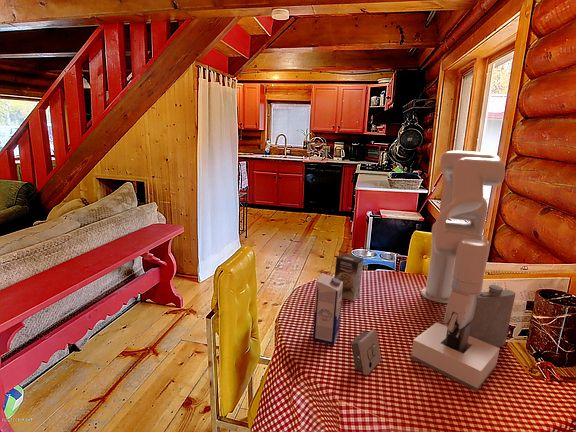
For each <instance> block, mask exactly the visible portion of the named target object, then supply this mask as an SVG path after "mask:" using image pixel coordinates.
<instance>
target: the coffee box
mask: <svg viewBox="0 0 576 432" xmlns="http://www.w3.org/2000/svg"><path fill="white" fill-rule="evenodd" d="M363 264H364V258H363V257H359V256H355V255H351V254H347V253H341V254H339V255H338V256H336V259H335V267H334V268H335V270H334V271H335V272H334V278H336V279H338V280H340V281H342V282H343V288H342V299H345V300H348V301H352V302H355V301H356V300H357V299H358V298H359V297H360V292H361V291H360V290H361V286H362V285H361V283H362V282H361V281H362V274H363Z"/></svg>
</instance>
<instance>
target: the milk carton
mask: <svg viewBox="0 0 576 432" xmlns="http://www.w3.org/2000/svg"><path fill="white" fill-rule="evenodd" d="M342 288H343V282H342V281H340V280H338V279H336V278H335V276H332V275H329V274H326V273H324V272H321V274H320V275H319V277H318V278H317V280H316V284H315V300H314V301H315V302H314V316H313V317H314V318H313V331H312V341H313V342H317V343H322V344H326V345H330V346H335V345H336V341H337V339H338V336H339V333H340V321H341V310H342V309H341V308H342V299H343V298H342Z"/></svg>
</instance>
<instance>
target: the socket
mask: <svg viewBox="0 0 576 432" xmlns="http://www.w3.org/2000/svg"><path fill="white" fill-rule="evenodd" d="M447 328H448V325H444V324H442V323H439V322H435V323H433V324H432V325H431V326H430V327H429V328H427V329H426V330H424V331H423V332H422V333H421V334H419V335H418V336H416V337H415V338H413V340H412V341H413V343H412V347H411V348H412V349H411V356H410V358H411V359H412V360H413V361H416V362H418V363H420V364H422V365H424V366H425V367H427V368H430V369H432V370H433V371H436V372H437V373H439V374H441V375H443V376H446V377H447V378H449V379H451V380H453V381H454V382H457V383H459V384H460V385H462V386H465V387H466V388H469V389H471V390H473V391H474V392H476V393H477V392H478V391H479V390H480V388H482V385H483V384H485V382H486V381H487V379H488V378H489V376H490V375H491V374H492V373H493V372H494V370H495V369H496V368H497V363H498V360H499V353H500V348H501V347H495V346H493V345H490V344H488V343H486V342H483V341H481V340H478V339H476V338H473V337H471V336H469V337H468V343H467V348H466V352H465V353H464V354H463V353H461V352H459V351H456V350H454V349H452V348H450V347H448V346H445V341H446V335H447Z"/></svg>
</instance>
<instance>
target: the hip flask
mask: <svg viewBox="0 0 576 432" xmlns="http://www.w3.org/2000/svg"><path fill="white" fill-rule="evenodd" d="M515 298H516V292H515V291H514V290H510V289H503V287H502V286H499V285H497V284H490V285H489V286H488V291H481V294H480V295H478V296H477V304H476V310H475V314H474V317H473V319H472V320H471V321H470V322H469V323H471V326H470V332H469V336H471V337H473V338H476V339H478V340H481V341H483V342H486V343H488V344H490V345H493V346H495V347H498V348H501V347H503V346H506V341H507V336H508V331H509V327H510V322H511V317H512V312H513V309H514V303H515Z"/></svg>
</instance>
